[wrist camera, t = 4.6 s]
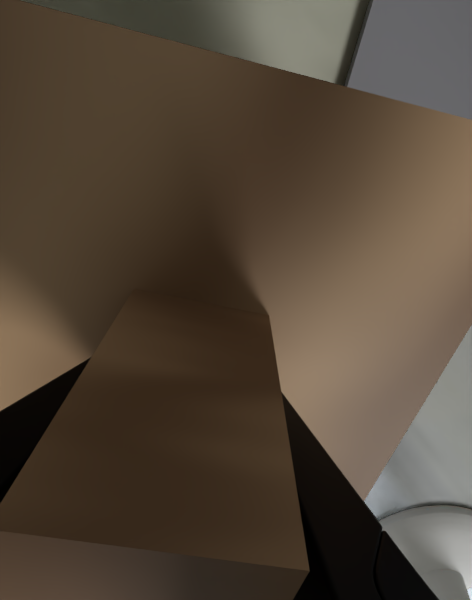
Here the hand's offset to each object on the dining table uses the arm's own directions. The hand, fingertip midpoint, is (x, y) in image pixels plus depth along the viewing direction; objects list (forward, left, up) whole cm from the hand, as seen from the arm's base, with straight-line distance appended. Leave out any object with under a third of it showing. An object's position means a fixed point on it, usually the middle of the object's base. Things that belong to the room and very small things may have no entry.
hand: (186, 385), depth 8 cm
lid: (0, 0, -2) cm, 2 cm away
